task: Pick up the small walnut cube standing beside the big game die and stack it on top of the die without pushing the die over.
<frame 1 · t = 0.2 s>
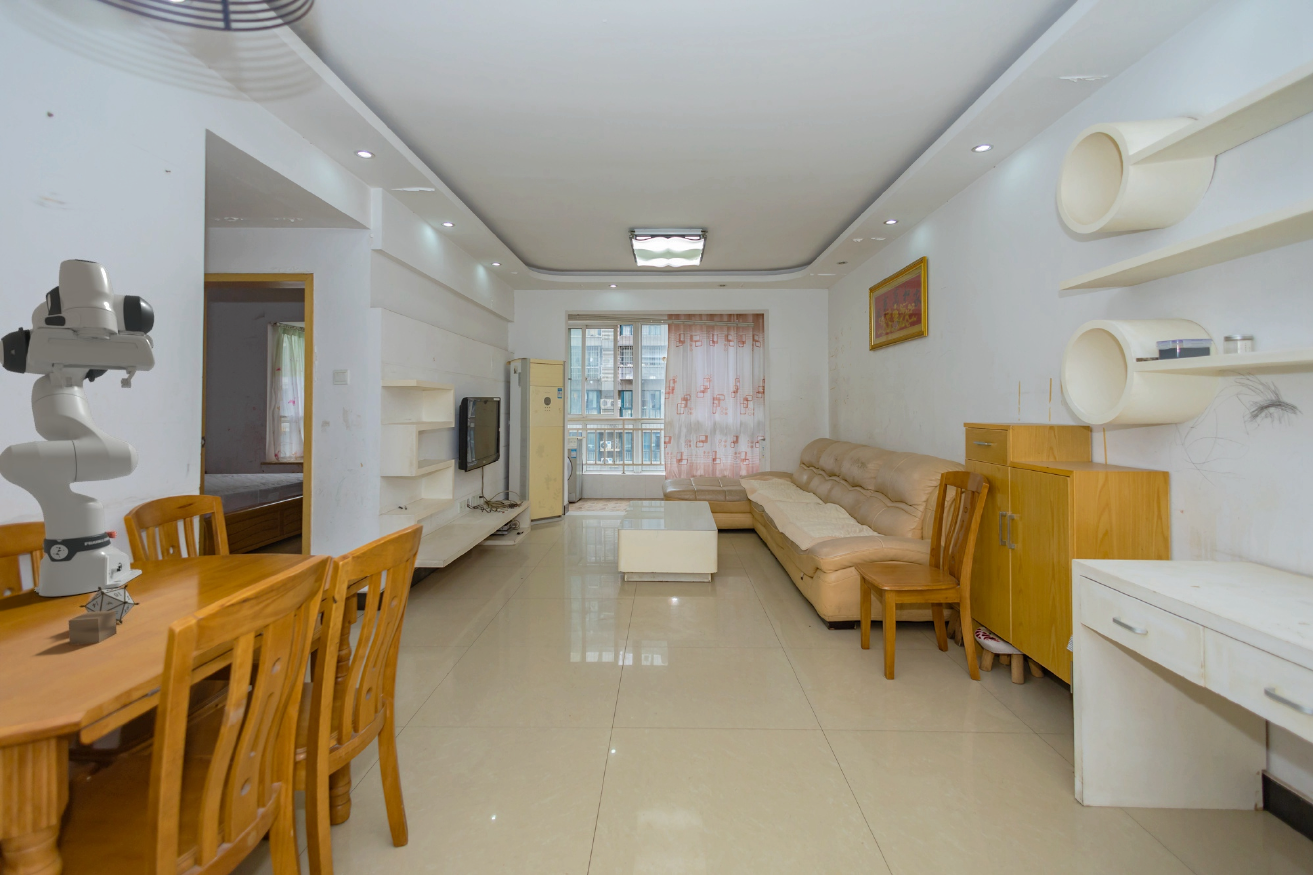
hand: (97, 386, 129), 52 cm above the table, tool tilted 20°, fingers open, 8 cm apart
game die: (111, 623, 129), on the table
walnut cube: (93, 639, 120), on the table
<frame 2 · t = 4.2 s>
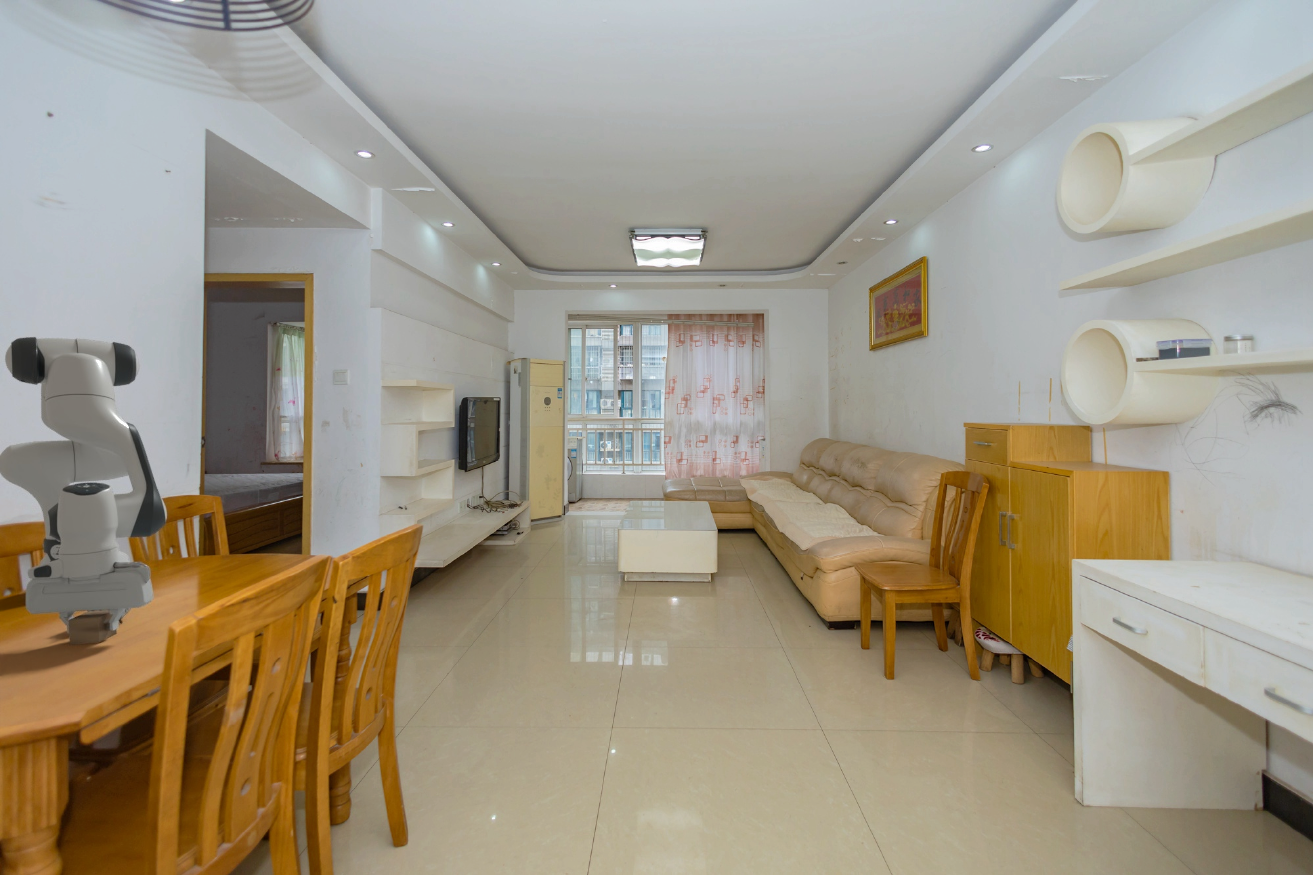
hand: (93, 631, 120), 2 cm above the table, tool pointing down, fingers closed on walnut cube, 5 cm apart
walnut cube: (93, 638, 120), on the table, touching gripper
everything else where it was.
when the fingers open (11 cm above the table, at t = 8.3 s): walnut cube drops 1 cm, resting on game die.
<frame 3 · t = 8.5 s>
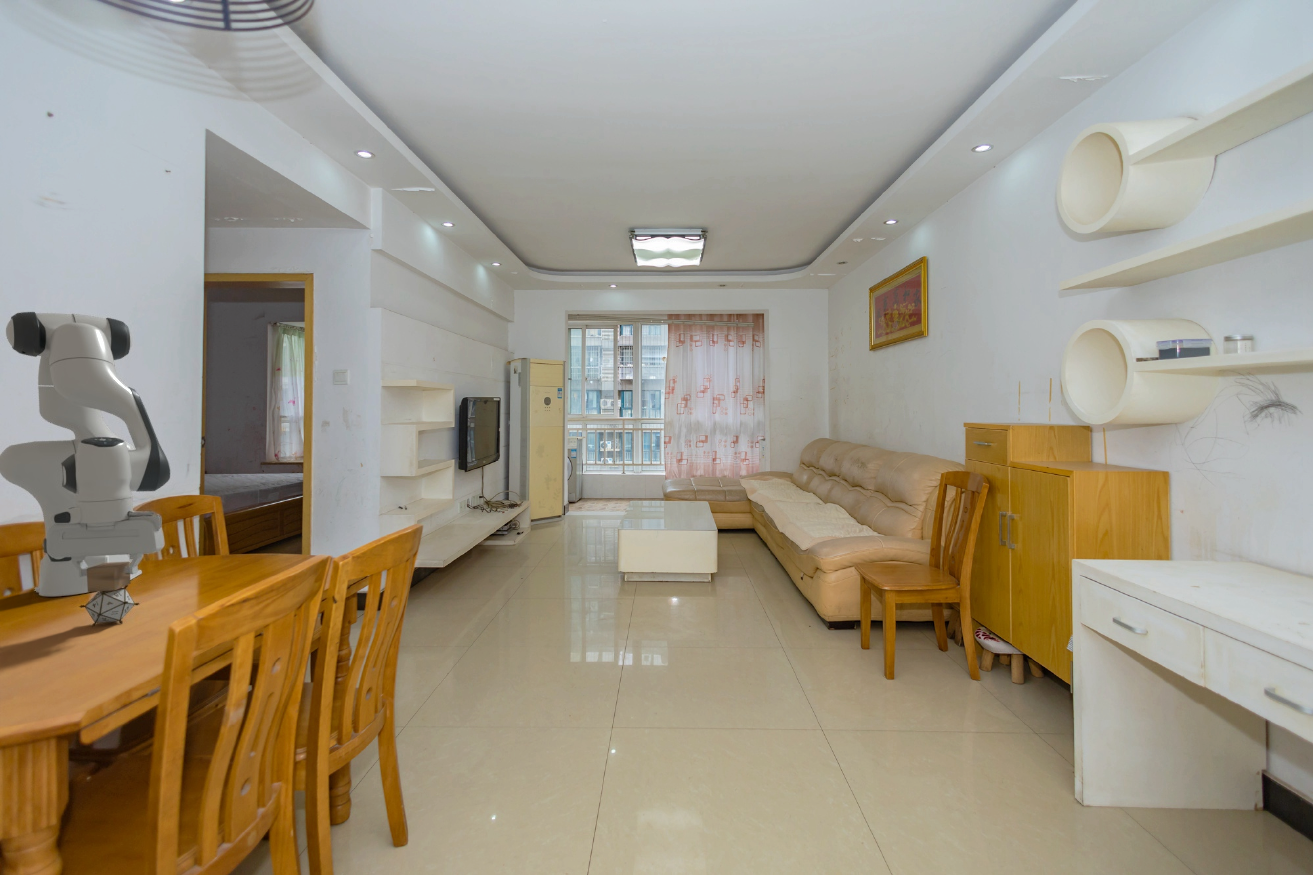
hand: (108, 575, 129), 11 cm above the table, tool pointing down, fingers open, 7 cm apart
game die: (111, 623, 129), on the table, touching walnut cube
walnut cube: (109, 587, 129), point 8 cm above the table, touching game die
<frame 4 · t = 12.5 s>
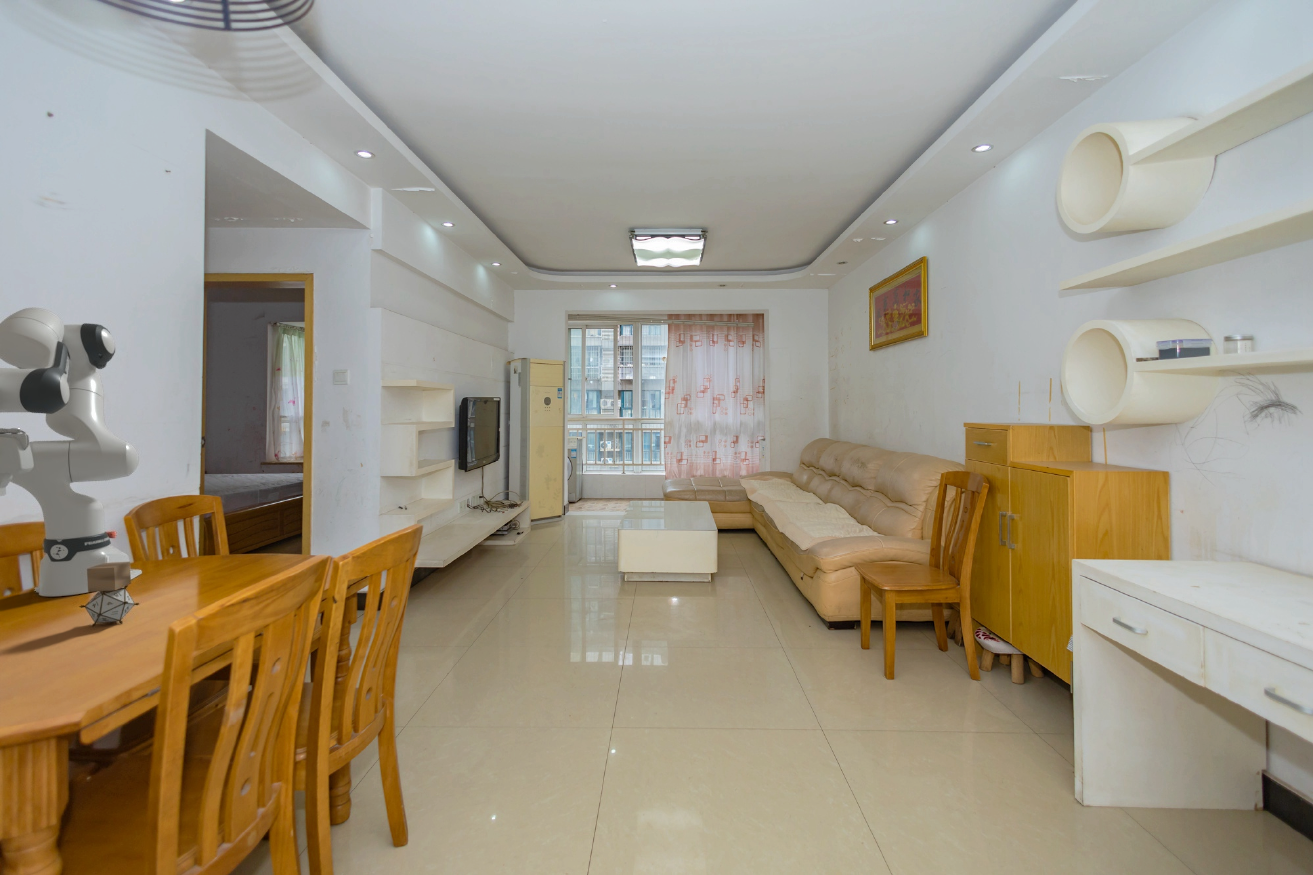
nothing on the table moved.
at the end: walnut cube inside the target area on the game die (0.2 cm from its centre), point 8.0 cm above the game die's base; the gripper is holding nothing; game die moved 0.3 cm from its start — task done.
